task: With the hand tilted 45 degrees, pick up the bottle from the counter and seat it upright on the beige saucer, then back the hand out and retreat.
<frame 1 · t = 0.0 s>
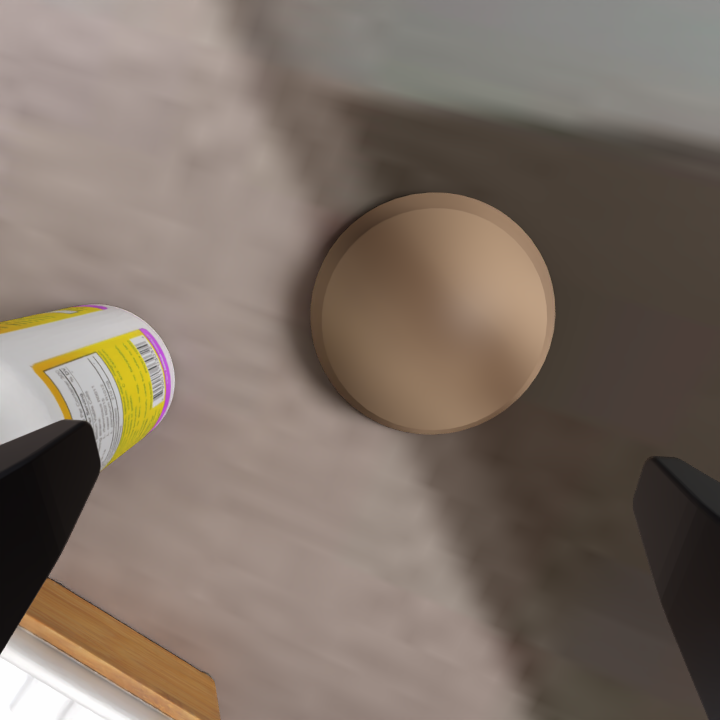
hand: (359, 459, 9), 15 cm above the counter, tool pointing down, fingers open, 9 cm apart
supplement bottle: (114, 372, 25), on the counter
beige saucer: (429, 317, 24), on the counter
soap dish: (103, 671, 29), on the counter
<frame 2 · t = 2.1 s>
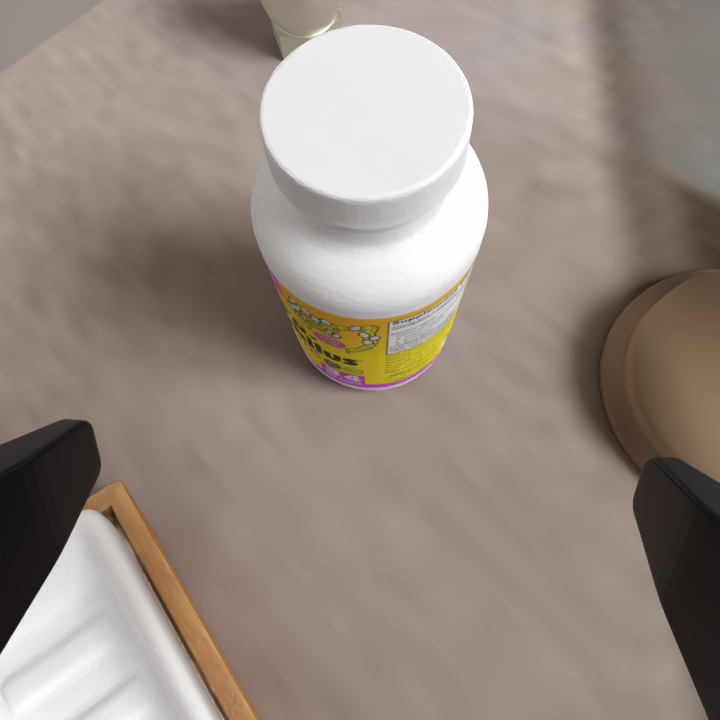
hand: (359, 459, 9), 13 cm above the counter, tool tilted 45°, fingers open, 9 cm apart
supplement bottle: (372, 324, 24), on the counter
valve: (356, 1, 30), on the counter
soap dish: (128, 701, 20), on the counter
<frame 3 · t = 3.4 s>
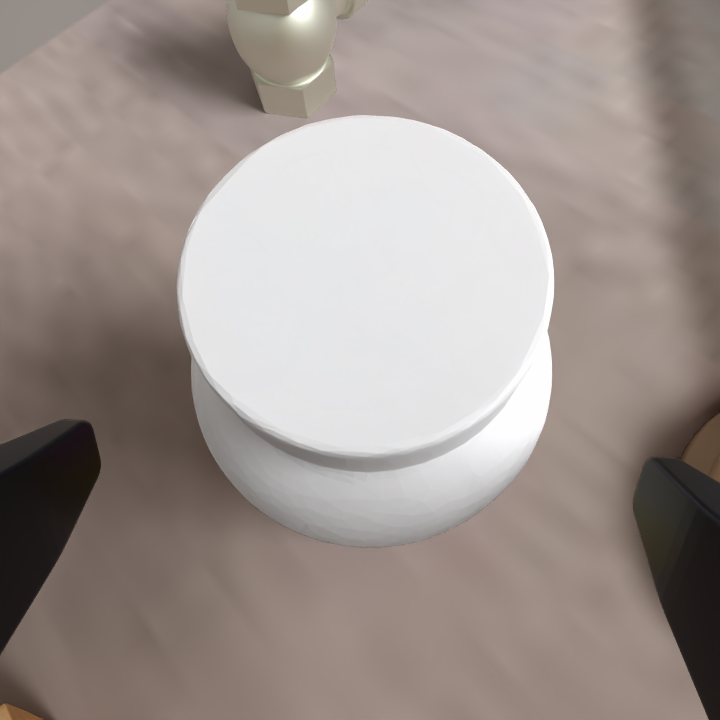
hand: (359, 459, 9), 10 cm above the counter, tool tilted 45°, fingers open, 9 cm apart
supplement bottle: (375, 445, 19), on the counter
valve: (352, 40, 25), on the counter
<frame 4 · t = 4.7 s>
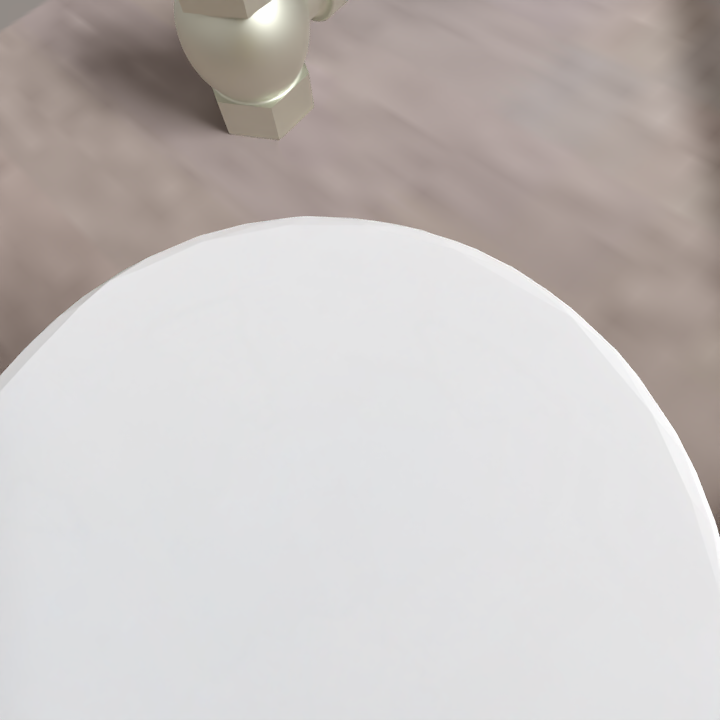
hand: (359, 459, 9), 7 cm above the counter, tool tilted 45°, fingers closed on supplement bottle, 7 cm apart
supplement bottle: (366, 545, 15), on the counter, touching gripper
valve: (333, 45, 21), on the counter
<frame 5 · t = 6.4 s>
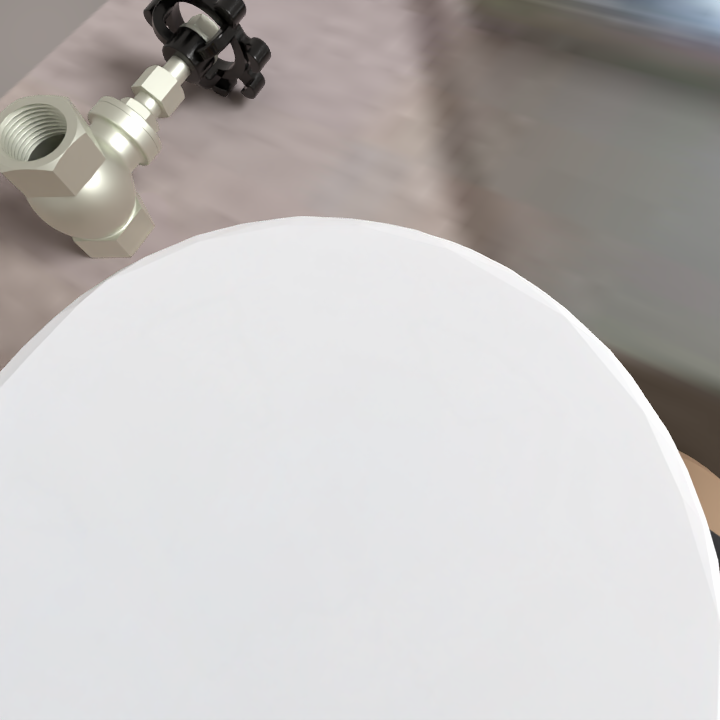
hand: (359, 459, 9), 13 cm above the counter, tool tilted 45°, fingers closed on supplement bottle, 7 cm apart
supplement bottle: (364, 543, 15), point 6 cm above the counter, touching gripper
beige saucer: (622, 574, 20), on the counter
valve: (166, 170, 27), on the counter
when the fingers open (10 cm above the counter, at t = 8.3 s): supplement bottle stays where it is, resting on beige saucer.
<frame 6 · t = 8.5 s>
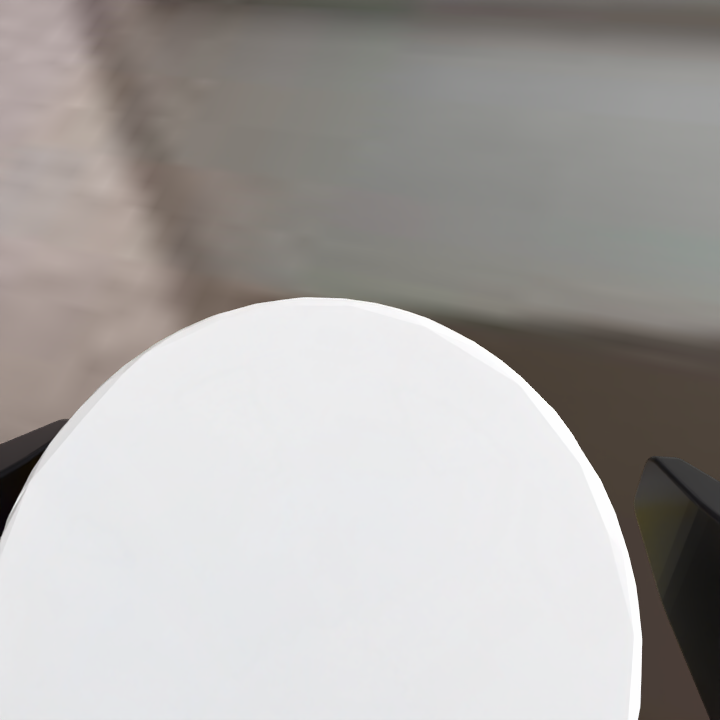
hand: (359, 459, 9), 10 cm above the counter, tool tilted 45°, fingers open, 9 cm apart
supplement bottle: (366, 551, 16), point 2 cm above the counter, touching beige saucer
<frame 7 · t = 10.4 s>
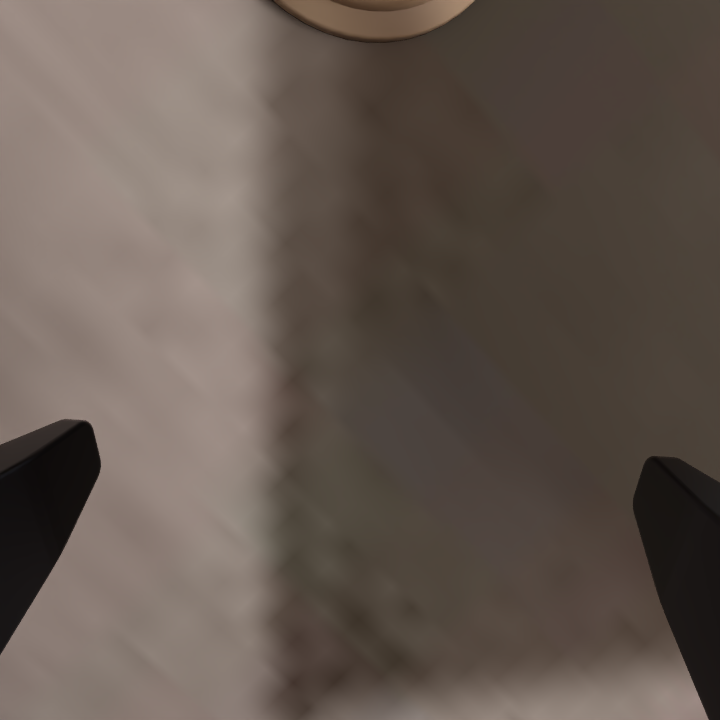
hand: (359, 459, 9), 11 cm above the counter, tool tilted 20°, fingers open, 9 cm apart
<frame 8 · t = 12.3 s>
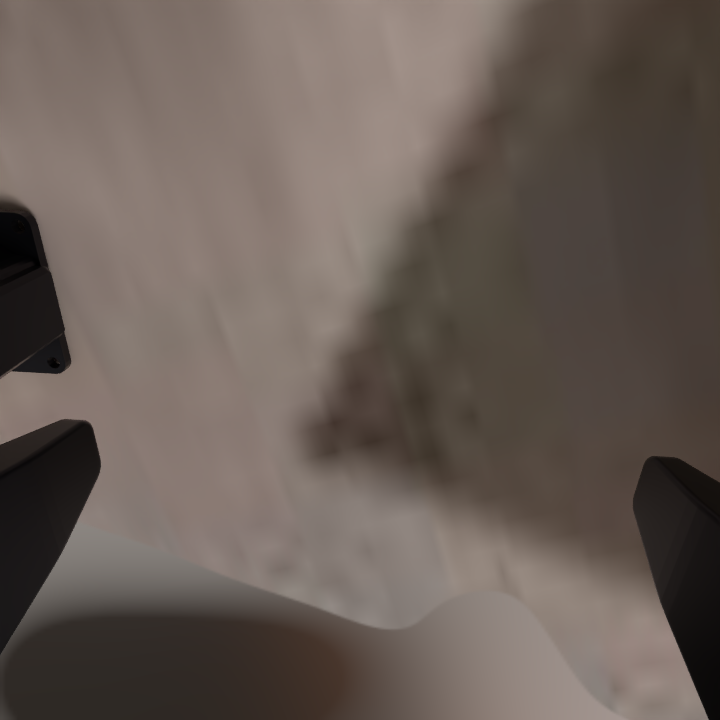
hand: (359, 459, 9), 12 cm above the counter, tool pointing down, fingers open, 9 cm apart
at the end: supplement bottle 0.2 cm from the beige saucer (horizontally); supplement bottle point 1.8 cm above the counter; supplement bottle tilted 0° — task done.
